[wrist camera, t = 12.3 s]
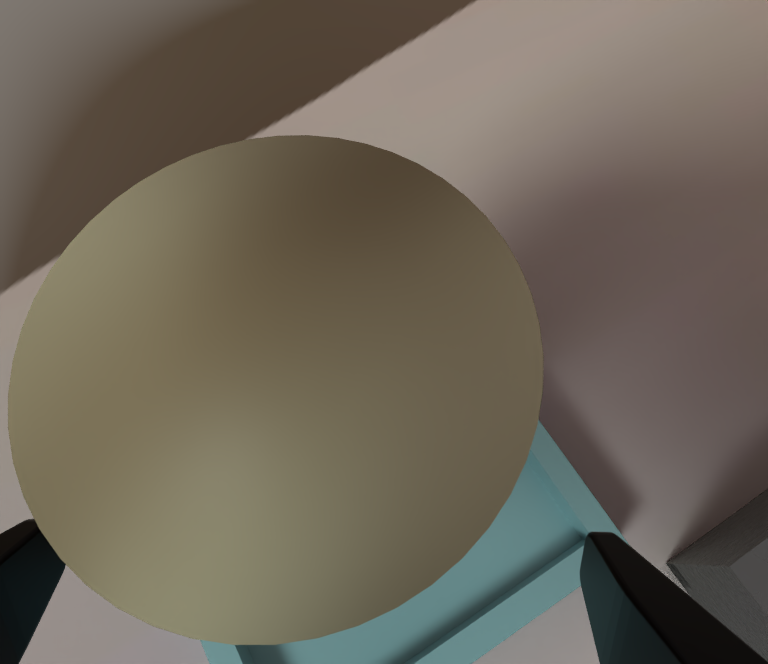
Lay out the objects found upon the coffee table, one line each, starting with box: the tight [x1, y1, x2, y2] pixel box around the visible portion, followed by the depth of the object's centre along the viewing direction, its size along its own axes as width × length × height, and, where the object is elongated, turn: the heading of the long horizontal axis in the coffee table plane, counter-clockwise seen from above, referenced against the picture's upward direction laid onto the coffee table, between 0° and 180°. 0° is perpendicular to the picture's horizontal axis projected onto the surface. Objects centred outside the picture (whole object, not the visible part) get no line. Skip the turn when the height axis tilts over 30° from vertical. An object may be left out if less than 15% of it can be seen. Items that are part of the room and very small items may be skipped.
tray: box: [200, 420, 630, 664], centre depth 17 cm, size 12×12×2 cm
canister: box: [8, 135, 544, 645], centre depth 11 cm, size 5×5×13 cm
